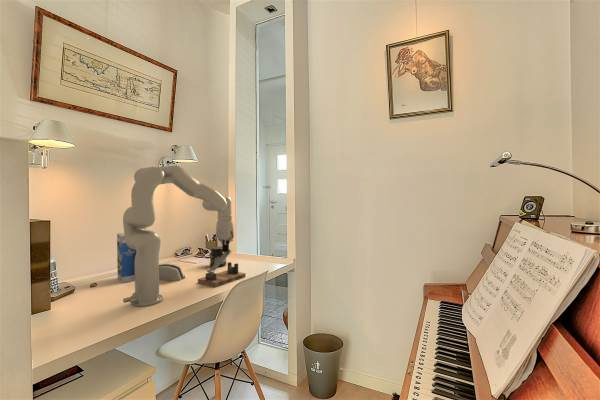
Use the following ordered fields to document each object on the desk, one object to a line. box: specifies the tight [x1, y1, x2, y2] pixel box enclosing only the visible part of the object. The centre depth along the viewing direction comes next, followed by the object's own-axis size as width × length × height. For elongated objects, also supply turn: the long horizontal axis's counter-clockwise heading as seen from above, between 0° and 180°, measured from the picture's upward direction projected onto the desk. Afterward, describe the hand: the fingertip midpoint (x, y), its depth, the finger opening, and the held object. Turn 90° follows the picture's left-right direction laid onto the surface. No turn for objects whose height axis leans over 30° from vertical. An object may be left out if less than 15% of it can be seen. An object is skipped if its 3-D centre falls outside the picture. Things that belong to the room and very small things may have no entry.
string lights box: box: [116, 232, 137, 284], centre depth 165 cm, size 13×8×26 cm, turn 42°
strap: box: [206, 249, 232, 273], centre depth 162 cm, size 17×4×2 cm
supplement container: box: [209, 246, 227, 268], centre depth 196 cm, size 10×10×12 cm
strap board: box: [197, 261, 246, 288], centre depth 163 cm, size 22×14×8 cm, turn 147°
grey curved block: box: [159, 263, 186, 281], centre depth 165 cm, size 17×5×10 cm, turn 78°
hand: (225, 251), depth 165 cm, fingers closed
